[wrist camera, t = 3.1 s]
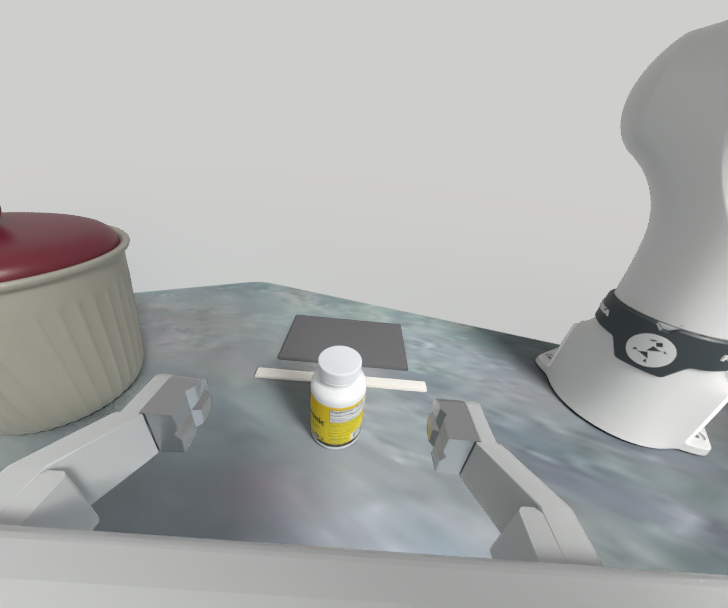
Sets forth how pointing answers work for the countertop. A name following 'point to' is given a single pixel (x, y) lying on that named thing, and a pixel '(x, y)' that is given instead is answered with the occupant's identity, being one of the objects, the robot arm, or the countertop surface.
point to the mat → (346, 341)
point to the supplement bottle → (337, 397)
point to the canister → (63, 320)
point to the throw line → (370, 381)
